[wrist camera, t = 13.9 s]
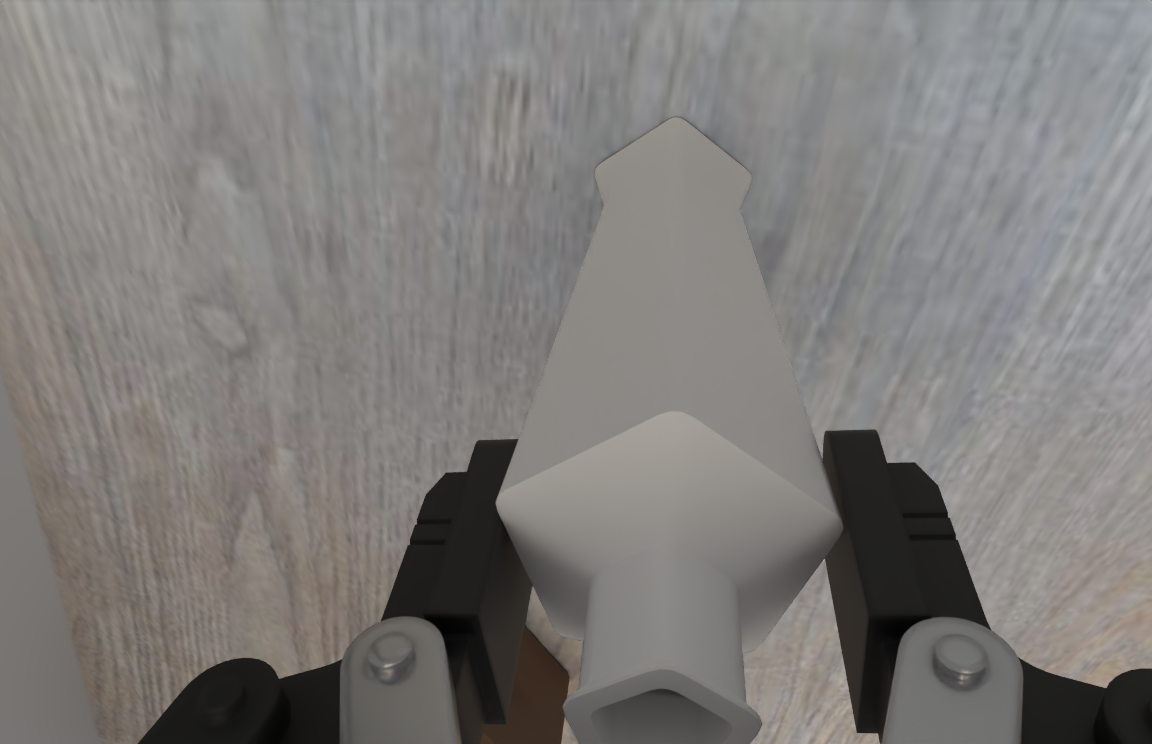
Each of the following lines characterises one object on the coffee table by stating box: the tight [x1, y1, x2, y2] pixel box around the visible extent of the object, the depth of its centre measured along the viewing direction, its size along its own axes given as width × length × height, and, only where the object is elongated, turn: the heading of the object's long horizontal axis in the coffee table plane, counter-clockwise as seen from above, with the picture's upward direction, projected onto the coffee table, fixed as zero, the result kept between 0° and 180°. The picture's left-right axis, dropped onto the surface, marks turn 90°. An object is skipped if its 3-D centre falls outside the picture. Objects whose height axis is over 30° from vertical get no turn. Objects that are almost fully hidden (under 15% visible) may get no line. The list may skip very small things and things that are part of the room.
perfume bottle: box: [496, 117, 844, 744], centre depth 16 cm, size 5×4×15 cm
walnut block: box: [481, 627, 569, 744], centre depth 31 cm, size 5×5×5 cm
